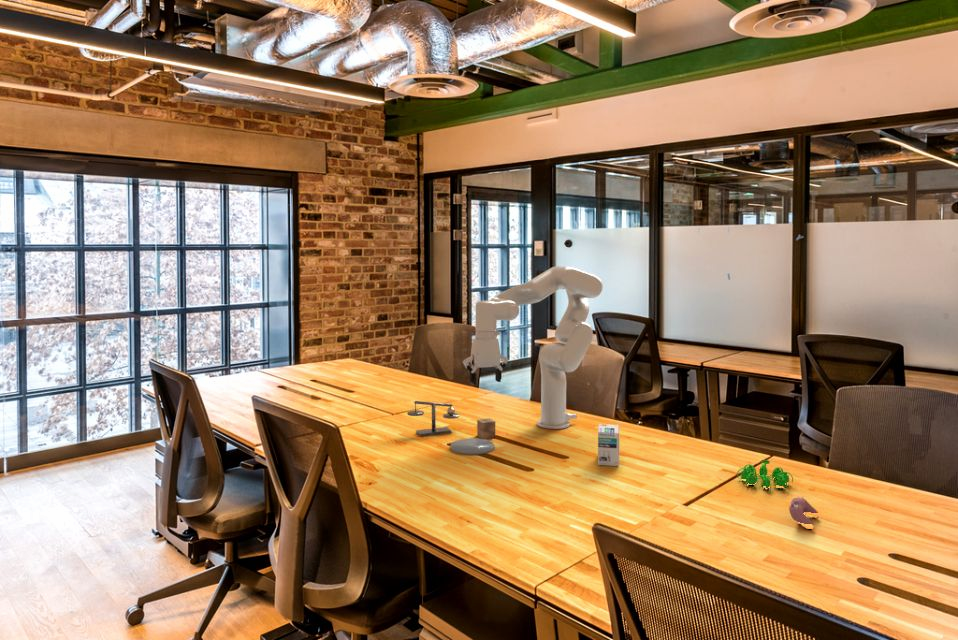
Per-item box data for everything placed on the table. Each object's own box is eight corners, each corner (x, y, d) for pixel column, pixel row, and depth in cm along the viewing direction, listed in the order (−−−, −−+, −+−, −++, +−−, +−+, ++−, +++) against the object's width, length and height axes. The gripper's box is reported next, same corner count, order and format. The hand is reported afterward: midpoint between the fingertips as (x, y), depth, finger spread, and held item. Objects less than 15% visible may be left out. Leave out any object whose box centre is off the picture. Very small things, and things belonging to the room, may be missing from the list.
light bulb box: (619, 466, 211) (619, 433, 210) (597, 465, 212) (597, 432, 211) (618, 456, 221) (619, 424, 220) (598, 455, 222) (598, 423, 221)
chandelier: (738, 490, 191) (738, 466, 190) (735, 473, 205) (736, 451, 204) (795, 496, 186) (797, 472, 186) (789, 478, 200) (790, 455, 200)
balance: (455, 428, 256) (455, 395, 254) (461, 432, 250) (461, 398, 249) (405, 433, 248) (405, 400, 247) (410, 438, 243) (410, 403, 241)
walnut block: (489, 434, 248) (489, 418, 247) (495, 437, 243) (495, 421, 242) (477, 435, 246) (477, 419, 245) (482, 439, 241) (482, 423, 241)
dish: (483, 439, 240) (483, 436, 240) (501, 451, 227) (501, 448, 226) (444, 444, 234) (444, 441, 234) (459, 457, 221) (459, 453, 221)
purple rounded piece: (802, 521, 173) (790, 495, 174) (821, 516, 170) (808, 490, 171) (796, 534, 165) (783, 507, 166) (814, 530, 162) (801, 502, 163)
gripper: (503, 333, 247) (503, 378, 249) (459, 335, 240) (459, 382, 242) (512, 335, 240) (511, 382, 242) (467, 337, 234) (467, 386, 235)
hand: (485, 382), depth 242 cm, fingers open, 9 cm apart
